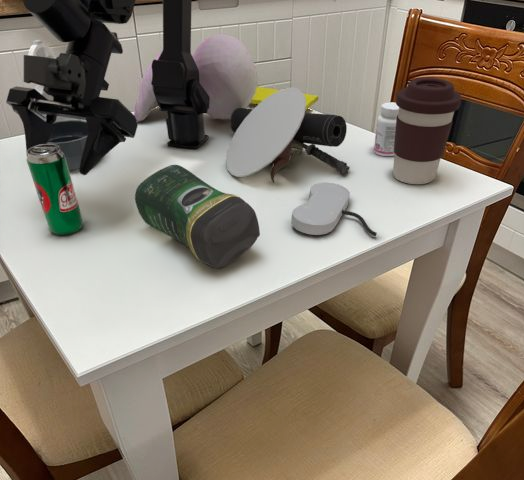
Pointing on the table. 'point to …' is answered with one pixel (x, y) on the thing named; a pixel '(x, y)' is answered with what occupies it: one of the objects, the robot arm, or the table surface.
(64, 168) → the soda can
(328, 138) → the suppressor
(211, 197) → the coffee jar
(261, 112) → the round grey base figurine
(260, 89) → the sign
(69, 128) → the grey ribbed bowl
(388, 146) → the pill bottle
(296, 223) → the game controller
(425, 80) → the coffee cup
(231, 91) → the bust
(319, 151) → the knife
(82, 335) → the table surface
